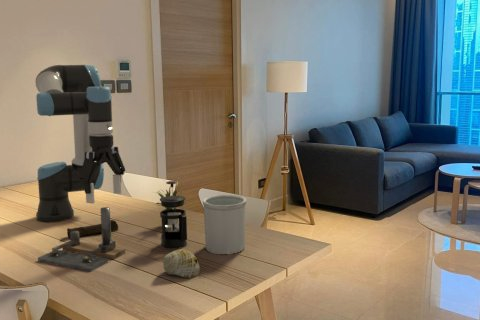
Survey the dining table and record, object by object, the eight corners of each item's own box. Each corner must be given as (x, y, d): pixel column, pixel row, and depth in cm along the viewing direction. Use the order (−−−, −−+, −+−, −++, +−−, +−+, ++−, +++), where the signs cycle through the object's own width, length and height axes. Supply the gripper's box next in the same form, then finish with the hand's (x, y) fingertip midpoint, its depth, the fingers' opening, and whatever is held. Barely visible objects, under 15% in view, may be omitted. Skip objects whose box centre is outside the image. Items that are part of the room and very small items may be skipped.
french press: (154, 244, 174) (151, 181, 170) (174, 238, 180) (173, 177, 177) (174, 252, 166) (172, 186, 162) (195, 245, 172) (194, 182, 169)
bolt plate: (56, 253, 166) (56, 249, 166) (108, 262, 157) (107, 258, 157) (37, 261, 159) (37, 257, 158) (91, 271, 150) (90, 267, 149)
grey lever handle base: (75, 244, 174) (74, 228, 173) (125, 253, 165) (124, 236, 164) (45, 257, 162) (44, 240, 161) (98, 267, 153) (97, 249, 152)
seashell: (207, 270, 148) (194, 246, 143) (183, 291, 144) (169, 267, 139) (190, 259, 156) (177, 236, 151) (166, 279, 152) (153, 255, 147)
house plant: (156, 233, 186) (155, 192, 183) (146, 224, 198) (144, 185, 195) (191, 228, 192) (190, 187, 189) (179, 219, 204) (178, 181, 202)
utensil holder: (237, 257, 160) (237, 206, 157) (196, 252, 165) (195, 202, 162) (252, 243, 174) (252, 196, 171) (213, 239, 179) (213, 192, 176)
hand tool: (68, 240, 180) (67, 228, 179) (67, 237, 183) (66, 225, 182) (119, 232, 188) (119, 221, 187) (117, 230, 192) (116, 218, 191)
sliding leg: (108, 246, 167) (106, 206, 164) (115, 247, 166) (113, 207, 163) (81, 259, 155) (79, 216, 153) (89, 260, 154) (86, 217, 151)
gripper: (83, 139, 145) (87, 208, 148) (133, 130, 167) (136, 190, 171) (64, 138, 148) (68, 206, 152) (116, 129, 170) (119, 188, 174)
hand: (104, 198), depth 161 cm, fingers open, 13 cm apart
